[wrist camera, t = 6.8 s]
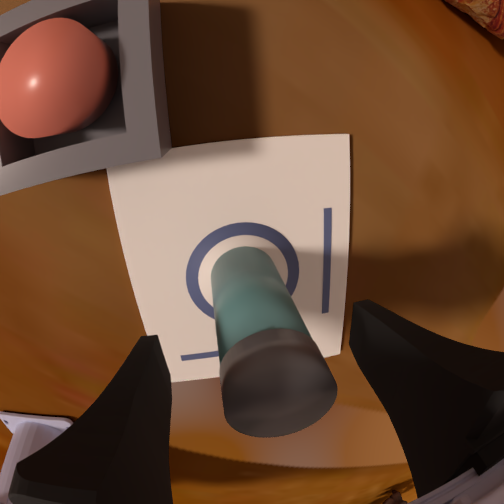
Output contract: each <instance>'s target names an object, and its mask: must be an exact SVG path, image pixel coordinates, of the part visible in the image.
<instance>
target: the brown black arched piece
mask: <svg viewBox="0 0 504 504" xmlns="http://www.w3.org/2000/svg"><path fill="white" fill-rule="evenodd" d="M392 494H393V495H391V496H390V498H388V499H387V500H385V501H384V502H383V504H407V501H404V500H402V497H401V494H400V492H397V491H395V490H393V491H392Z"/></svg>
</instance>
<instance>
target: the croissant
mask: <svg viewBox="0 0 504 504" xmlns="http://www.w3.org/2000/svg"><path fill="white" fill-rule="evenodd" d="M445 1H446V2H448V3H449V4H451V5H452V6H454V7H456V8H457V9H459V10H460V11H462V12H465V13H467V14H468V15H470V16H471V17H472V18H473V19H474V20H475V21H476V22H477V23H478V24H480V25H481V26H482V27H483V28H486V29H487V31H488V32H490V33H492V34H493V35H495V36H497V37H498V38H500V39H504V0H445Z"/></svg>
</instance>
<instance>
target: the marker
mask: <svg viewBox="0 0 504 504" xmlns="http://www.w3.org/2000/svg"><path fill="white" fill-rule="evenodd" d="M211 287H212V297H213V308H214V317H215V327H216V336H217V345H218V354H219V362H220V369H219V375H220V384H221V391H222V400H223V407H224V415H225V418H226V420H227V422H228V423H229V425H230V426H231V427H232V428H234V429H235V430H236V431H238V432H240V433H243V434H245V435H249V436H254V437H278V436H284V435H288V434H291V433H295V432H297V431H300V430H302V429H304V428H307V427H308V426H310V425H312V424H314V423H315V422H317V421H318V420H319V419H321V417H323V416H324V415H325V414H326V413H327V412H328V411H329V410H330V408H331V407H332V405H333V404H334V402H335V399H336V396H337V384H336V381H335V379H334V377H333V375H332V373H331V371H330V369H329V367H328V365H327V363H326V361H325V359H324V357H323V355H322V353H321V352H320V350H319V348H318V346H317V344H316V343H315V341H314V340H313V339H312V337H311V335H310V333H309V331H308V329H307V327H306V325H305V323H304V321H303V319H302V317H301V315H300V313H299V311H298V309H297V307H296V305H295V303H294V301H293V299H292V298H291V296H290V294H289V292H288V290H287V288H286V286H285V284H284V282H283V280H282V278H281V276H280V274H279V272H278V270H277V268H276V266H275V264H274V262H273V261H272V259H271V258H270V256H269V255H268V254H266V253H265V252H264V251H262V250H260V249H258V248H255V247H248V246H243V247H237V248H233V249H231V250H229V251H227V252H225V253H224V254H223V255H221V256H220V257H219V258H218V259H217V261H216V262H215V264H214V266H213V268H212V271H211Z"/></svg>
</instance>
